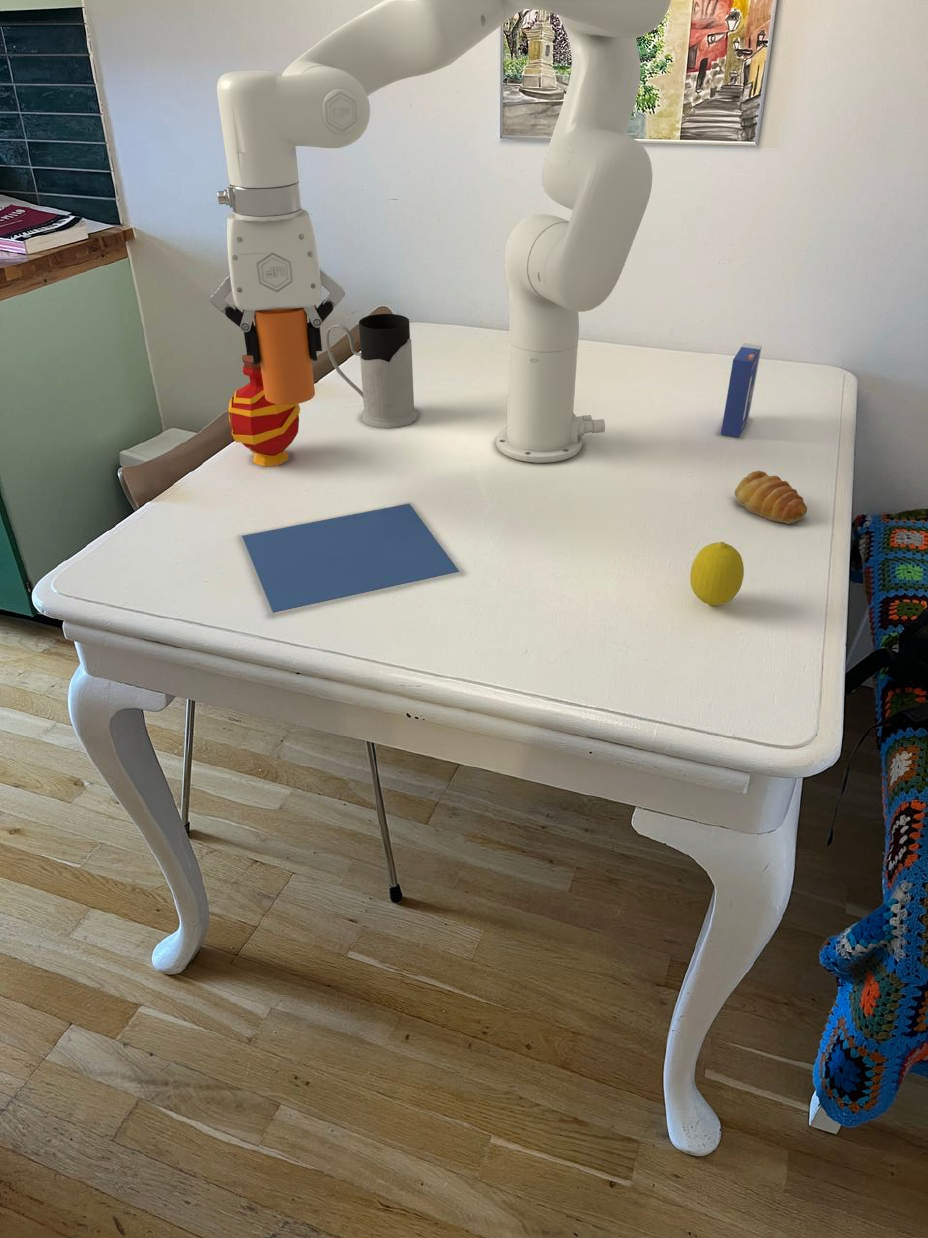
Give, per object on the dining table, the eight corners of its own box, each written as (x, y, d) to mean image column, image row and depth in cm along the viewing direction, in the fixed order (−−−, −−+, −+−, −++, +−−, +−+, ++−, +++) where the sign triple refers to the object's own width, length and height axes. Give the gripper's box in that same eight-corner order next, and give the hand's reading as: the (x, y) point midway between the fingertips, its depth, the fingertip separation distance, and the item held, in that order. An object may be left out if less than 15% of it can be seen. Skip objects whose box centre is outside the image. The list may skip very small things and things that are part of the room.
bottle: (314, 384, 118) (299, 248, 109) (316, 402, 113) (301, 262, 104) (264, 388, 117) (246, 251, 108) (264, 406, 112) (245, 265, 103)
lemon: (680, 592, 104) (689, 531, 100) (727, 590, 105) (739, 528, 100) (694, 621, 100) (704, 557, 95) (744, 618, 100) (757, 555, 95)
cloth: (409, 505, 121) (409, 503, 121) (459, 573, 108) (459, 571, 108) (242, 537, 115) (241, 535, 115) (273, 614, 101) (272, 612, 101)
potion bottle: (292, 477, 128) (279, 372, 120) (223, 470, 130) (205, 367, 121) (317, 445, 137) (306, 345, 128) (251, 440, 138) (236, 341, 130)
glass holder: (405, 430, 141) (400, 333, 132) (320, 419, 145) (310, 323, 136) (425, 409, 148) (422, 315, 139) (344, 399, 151) (336, 306, 143)
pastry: (818, 518, 118) (824, 491, 116) (780, 532, 115) (786, 505, 113) (763, 489, 124) (768, 463, 122) (726, 502, 122) (730, 476, 119)
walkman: (739, 438, 138) (753, 359, 131) (720, 434, 139) (733, 356, 132) (749, 418, 144) (763, 342, 137) (731, 415, 145) (744, 339, 138)
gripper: (184, 210, 98) (211, 374, 108) (347, 203, 100) (359, 364, 111) (188, 196, 104) (214, 353, 114) (342, 190, 106) (354, 344, 117)
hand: (285, 357), depth 113 cm, fingers closed on bottle, 6 cm apart
